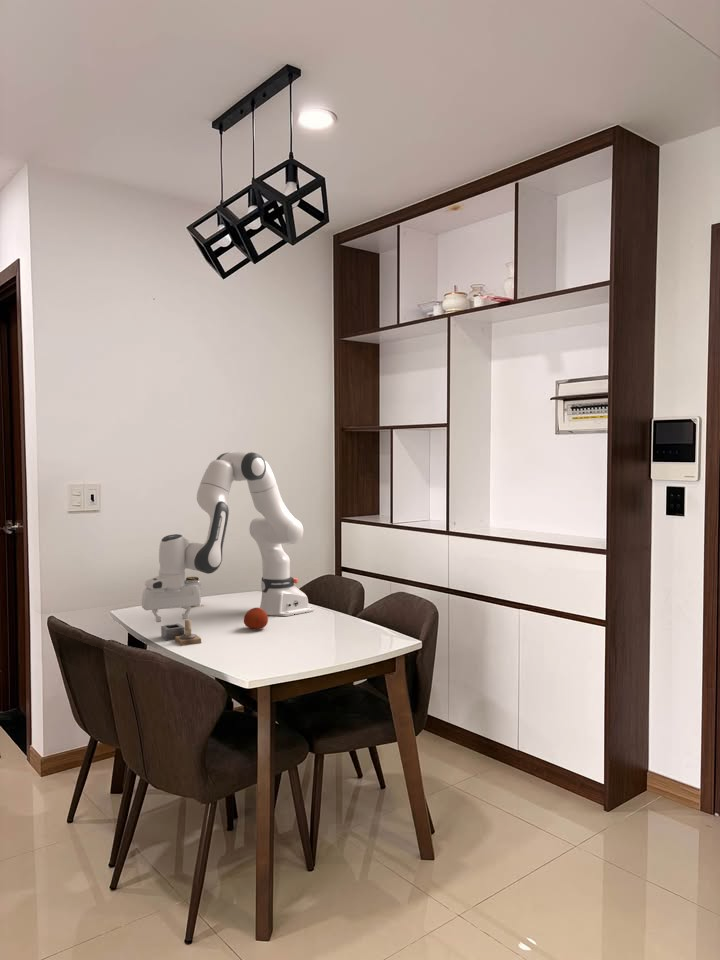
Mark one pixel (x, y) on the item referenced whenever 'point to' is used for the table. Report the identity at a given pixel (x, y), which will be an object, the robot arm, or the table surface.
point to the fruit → (255, 619)
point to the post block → (187, 636)
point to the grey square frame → (171, 631)
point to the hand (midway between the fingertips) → (171, 620)
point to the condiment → (193, 579)
